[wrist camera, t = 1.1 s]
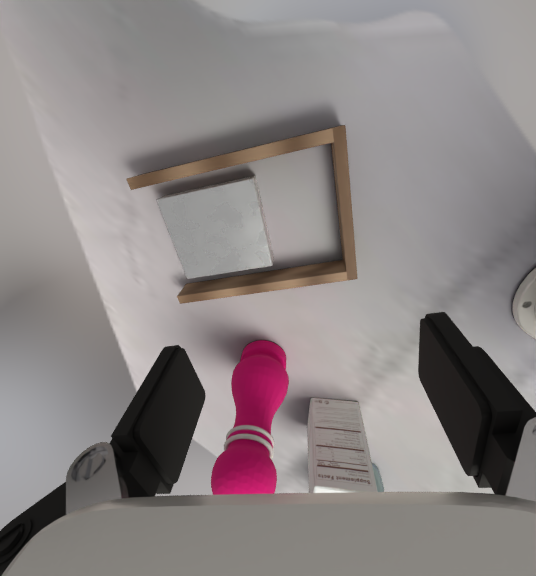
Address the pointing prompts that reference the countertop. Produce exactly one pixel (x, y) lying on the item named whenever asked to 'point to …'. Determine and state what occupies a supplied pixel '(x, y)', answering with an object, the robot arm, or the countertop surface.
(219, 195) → the cover plate
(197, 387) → the robot arm
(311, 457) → the supplement box
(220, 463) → the pepper mill
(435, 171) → the countertop surface
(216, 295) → the wooden u-shaped frame
